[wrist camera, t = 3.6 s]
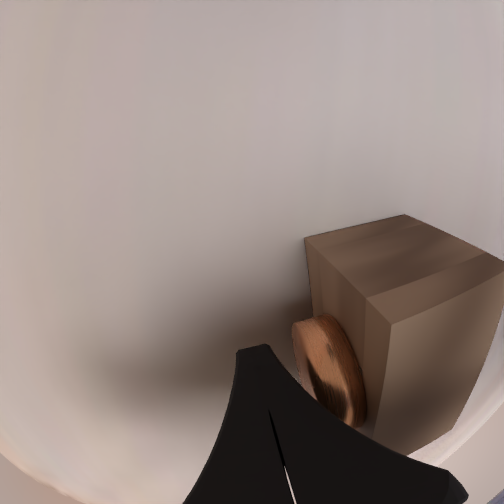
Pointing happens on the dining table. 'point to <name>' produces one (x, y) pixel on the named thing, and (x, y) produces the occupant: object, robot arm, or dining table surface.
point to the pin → (330, 368)
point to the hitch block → (409, 320)
